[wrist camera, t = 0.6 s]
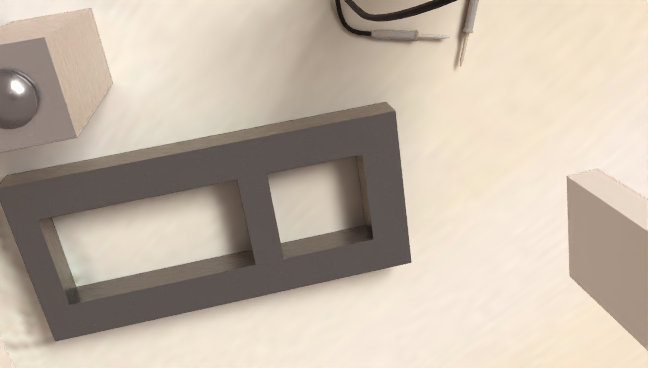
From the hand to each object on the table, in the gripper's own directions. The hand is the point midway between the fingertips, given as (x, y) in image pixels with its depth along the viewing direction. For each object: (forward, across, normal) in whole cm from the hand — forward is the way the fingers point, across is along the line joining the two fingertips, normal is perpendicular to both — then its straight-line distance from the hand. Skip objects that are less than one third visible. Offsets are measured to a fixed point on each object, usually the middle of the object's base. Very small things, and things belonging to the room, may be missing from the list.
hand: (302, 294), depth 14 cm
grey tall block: (+23, -9, +4) cm, 25 cm away
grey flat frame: (+23, -4, -8) cm, 24 cm away
